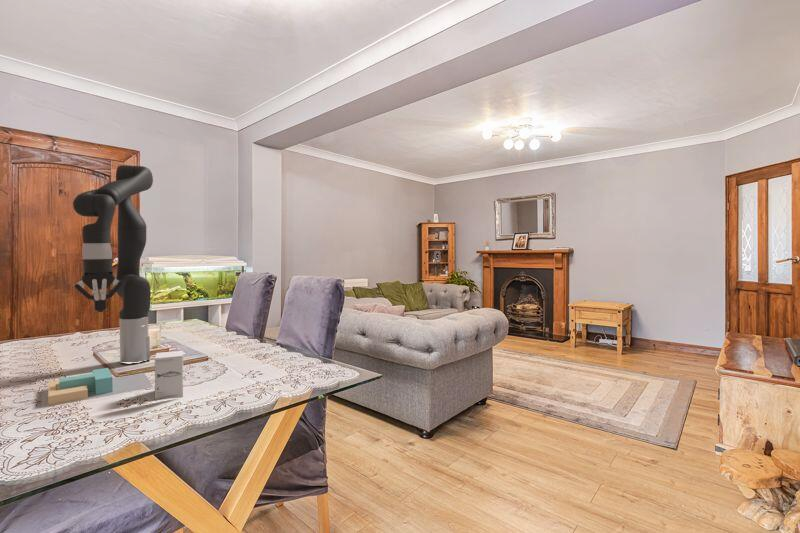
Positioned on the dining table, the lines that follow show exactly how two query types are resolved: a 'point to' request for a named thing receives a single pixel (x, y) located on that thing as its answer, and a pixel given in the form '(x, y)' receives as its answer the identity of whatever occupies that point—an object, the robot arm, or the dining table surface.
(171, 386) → the supplement box
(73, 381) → the tee block
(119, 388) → the slot board
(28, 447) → the dining table surface
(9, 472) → the dining table surface
